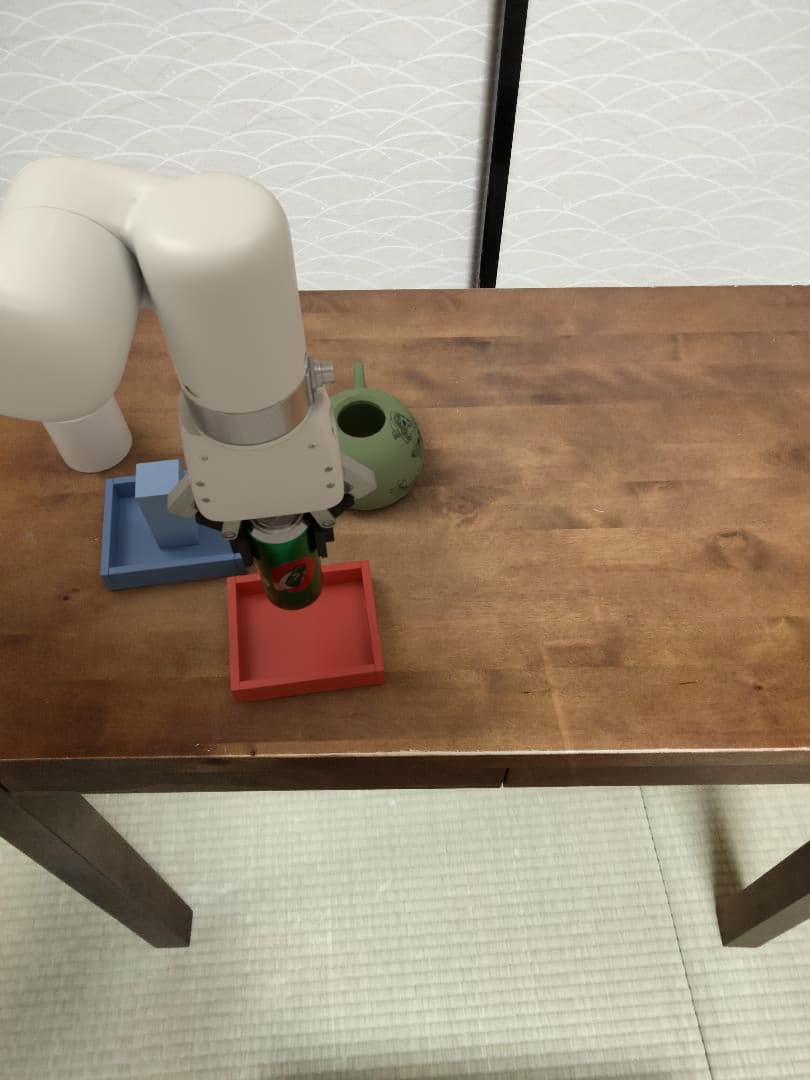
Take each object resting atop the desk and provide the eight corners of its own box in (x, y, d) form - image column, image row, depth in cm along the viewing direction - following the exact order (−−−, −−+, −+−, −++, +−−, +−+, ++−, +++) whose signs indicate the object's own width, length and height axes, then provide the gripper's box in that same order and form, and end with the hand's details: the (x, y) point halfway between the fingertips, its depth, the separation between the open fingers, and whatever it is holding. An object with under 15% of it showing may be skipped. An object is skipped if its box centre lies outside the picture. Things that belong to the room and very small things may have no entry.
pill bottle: (56, 429, 91) (17, 358, 82) (125, 410, 93) (94, 338, 83) (66, 481, 87) (26, 413, 78) (138, 461, 89) (107, 392, 79)
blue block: (159, 549, 82) (134, 497, 75) (160, 516, 84) (136, 463, 77) (199, 544, 83) (178, 492, 75) (199, 512, 85) (178, 458, 77)
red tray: (236, 703, 74) (230, 691, 72) (232, 592, 80) (226, 577, 78) (384, 683, 75) (384, 670, 73) (369, 575, 81) (368, 559, 79)
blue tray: (109, 590, 80) (99, 575, 78) (114, 495, 86) (105, 478, 84) (247, 573, 81) (242, 558, 79) (243, 480, 87) (238, 463, 85)
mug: (429, 515, 85) (431, 464, 78) (305, 522, 85) (295, 471, 77) (417, 399, 94) (418, 344, 86) (304, 405, 93) (296, 350, 86)
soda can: (335, 579, 70) (324, 499, 60) (301, 624, 68) (283, 548, 58) (288, 552, 71) (269, 469, 61) (252, 595, 69) (227, 516, 59)
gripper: (381, 328, 51) (386, 495, 67) (105, 356, 50) (175, 520, 65) (398, 419, 47) (399, 574, 63) (99, 452, 46) (175, 602, 61)
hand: (285, 545), depth 64 cm, fingers closed on soda can, 5 cm apart
